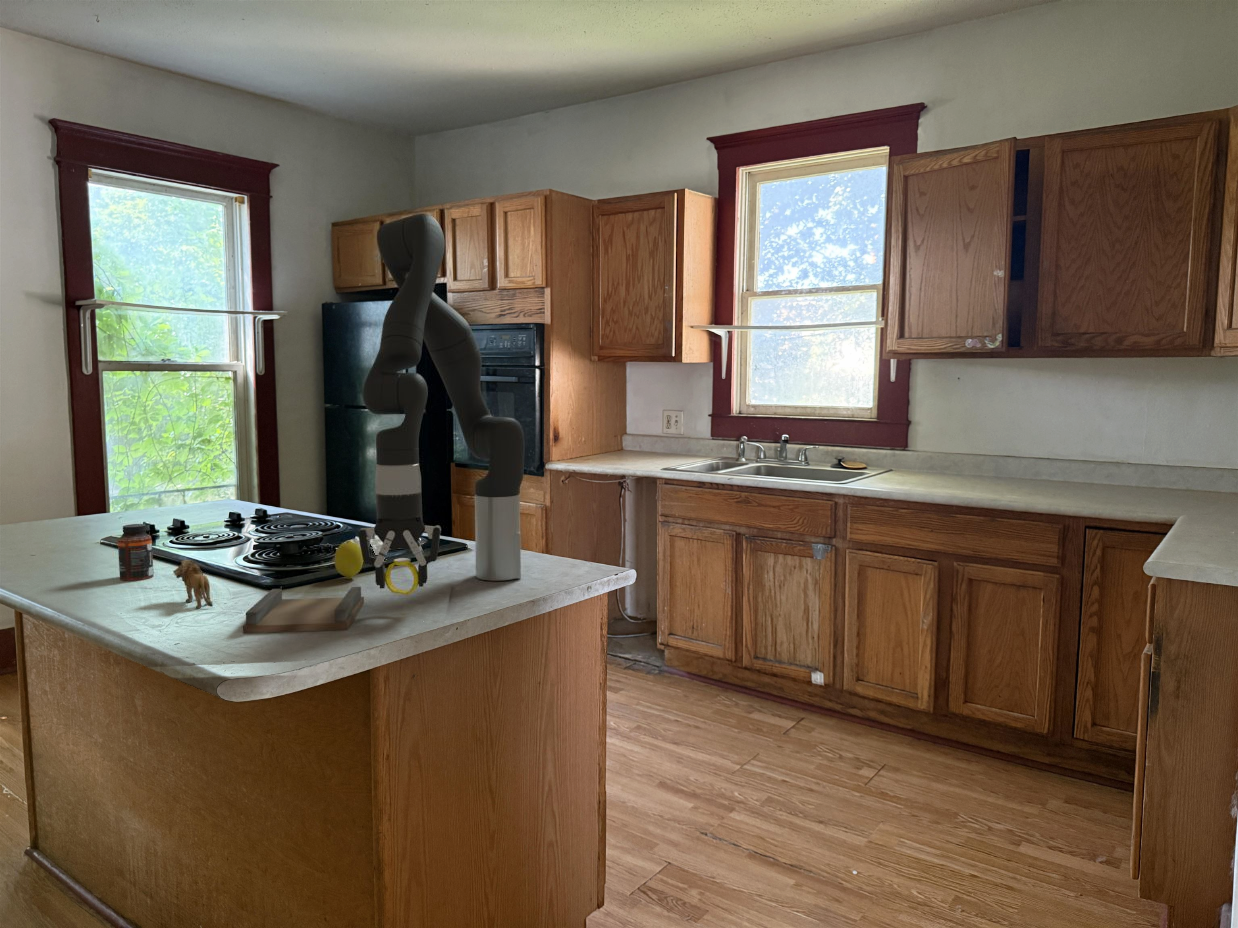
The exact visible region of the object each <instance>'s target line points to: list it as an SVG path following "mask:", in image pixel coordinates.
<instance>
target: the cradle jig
mask: <svg viewBox="0 0 1238 928" xmlns="http://www.w3.org/2000/svg"><path fill="white" fill-rule="evenodd" d="M266 593H267V594H265V595H264V596H263V597H261V599H259V600H258V601H257V602H256V603H255V604H254V605H253V606H251V608H250V609H248V610H247V611H246V612H245V623H244V624H243V625H242V634H262V633H263V634H264V633H265V634H266V633H267V634H268V633H269V634H270V633H288V632H289V633H290V632H291V633H292V632H316V631H317V632H319V631H321V632H322V631H346V630H347V631H348V630H349V628H350V627H351V625H352V624H353V622H354V620H355V618H356V617H357V616H358V614H359V613H360V611H361V609H362V607H363V606H364V604H365V596H362V586H351V587H350V588H349V590H348V591H347V593H346V594H345V595H344V596H343V597H341V596H340V597H314V598H283V589H282V588H272V589H271V590H270V591H268V592H266Z"/></svg>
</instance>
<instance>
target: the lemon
mask: <svg viewBox="0 0 1238 928" xmlns="http://www.w3.org/2000/svg"><path fill="white" fill-rule="evenodd" d="M363 564H364V563H363V557H362V552H361V548H360V547H359V546H358V545H357V544H355V543H353V542H351V540H349V539H348V540H346V541H345V542H342V543H341V544H340V545H339V546H337V549H336V551H335V553H334V566H335V569H336V571H337V572H338V574H339V575H341V576H344V577H345V578H347V579H348V580H351V579H352V578H353V577H354V576H356V575H357V574H359V573H360V571H361V570H362V568H363Z"/></svg>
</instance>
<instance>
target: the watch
mask: <svg viewBox="0 0 1238 928" xmlns="http://www.w3.org/2000/svg"><path fill="white" fill-rule="evenodd" d="M394 566H406V567H407V568H408V569H410V572H411V573H412V576H413V584H412V587H411V589H409V590H403V589H399V588H396V587H395V585H394V584H393V582H392V579H391V575H392V573H391V572H392V570H393V568H394ZM385 586H386V587H387V589H388V590H389V591H390V592H391V593H392V594H394V593H395V594H399V595H400V594H401V595H405V596H406V595H407V596H408V595H410V594H412V593H413V592H414V591H416V590H417V588H418V587H419V579H418V568H417V567H416V566H415V565H414V564H413V563H412V562H411V559H410V558H407V557H406V558H405V557H399V558H395V559H393V562H392V563H391V564H389V565H388V567H387V568H385Z"/></svg>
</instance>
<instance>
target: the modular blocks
mask: <svg viewBox="0 0 1238 928" xmlns="http://www.w3.org/2000/svg"><path fill="white" fill-rule="evenodd" d="M350 541H351V542H353V543H355V544H357V545H358V546H359V547H360V541H359V536H355V538H354V539H353V540H350ZM369 542H370V544H371V546H372V547H373V550H372V552H373V551H374V553H375V555H378V554H379V551H380V549H381V547H382V545H383V542H382V541H381V540H380V539H379V537H378V536H377V535H376V534H374V538H372V539H371V540H370V541H369ZM360 548H361V547H360ZM374 553H373V554H374ZM375 555H374V556H375Z"/></svg>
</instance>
